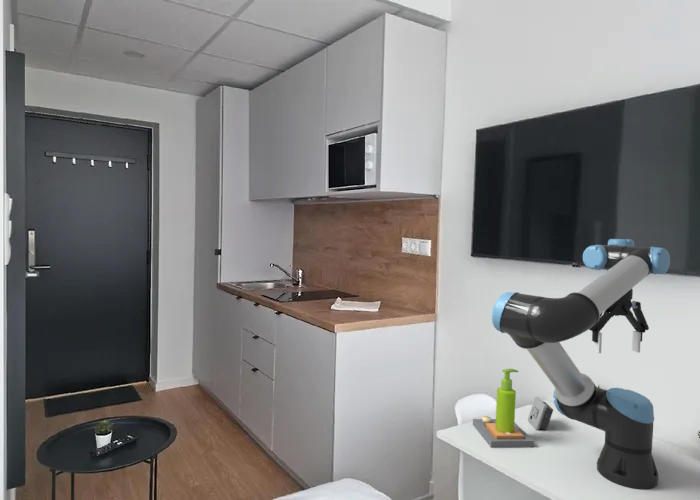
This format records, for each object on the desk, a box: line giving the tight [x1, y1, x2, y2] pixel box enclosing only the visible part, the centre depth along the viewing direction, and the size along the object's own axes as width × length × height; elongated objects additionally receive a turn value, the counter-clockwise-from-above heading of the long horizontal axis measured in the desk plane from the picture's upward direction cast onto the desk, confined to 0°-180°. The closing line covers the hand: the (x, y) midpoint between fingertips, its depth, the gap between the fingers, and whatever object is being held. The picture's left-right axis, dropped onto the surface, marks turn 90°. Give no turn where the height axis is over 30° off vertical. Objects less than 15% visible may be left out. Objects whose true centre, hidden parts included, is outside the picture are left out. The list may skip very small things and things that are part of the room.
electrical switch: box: [527, 396, 554, 431], centre depth 170 cm, size 9×5×9 cm, turn 178°
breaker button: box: [486, 423, 524, 439], centre depth 159 cm, size 10×9×3 cm
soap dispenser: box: [495, 368, 519, 433], centre depth 159 cm, size 6×7×20 cm
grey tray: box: [472, 416, 535, 449], centre depth 161 cm, size 18×14×4 cm
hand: (616, 351), depth 154 cm, fingers open, 13 cm apart
